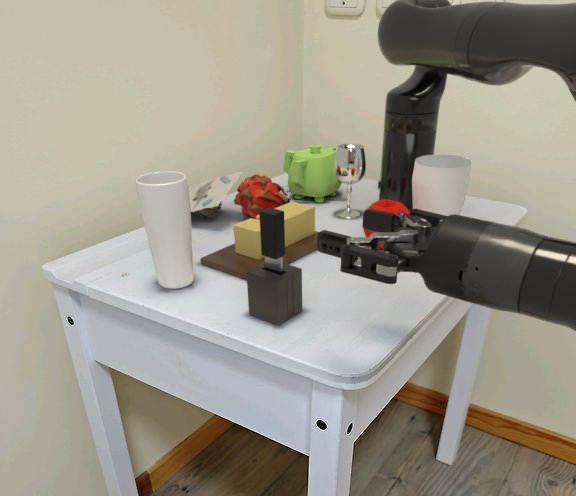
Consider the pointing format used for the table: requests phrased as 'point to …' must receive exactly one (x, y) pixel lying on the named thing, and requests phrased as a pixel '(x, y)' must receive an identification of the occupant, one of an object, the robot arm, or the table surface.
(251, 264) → the butter board
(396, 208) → the apple
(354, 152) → the wineglass
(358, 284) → the table surface
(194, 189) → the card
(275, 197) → the dragon fruit
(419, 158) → the cup
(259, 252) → the butter slice
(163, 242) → the white tall tumbler
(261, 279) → the knife block
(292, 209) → the butter block
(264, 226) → the knife
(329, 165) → the teapot
